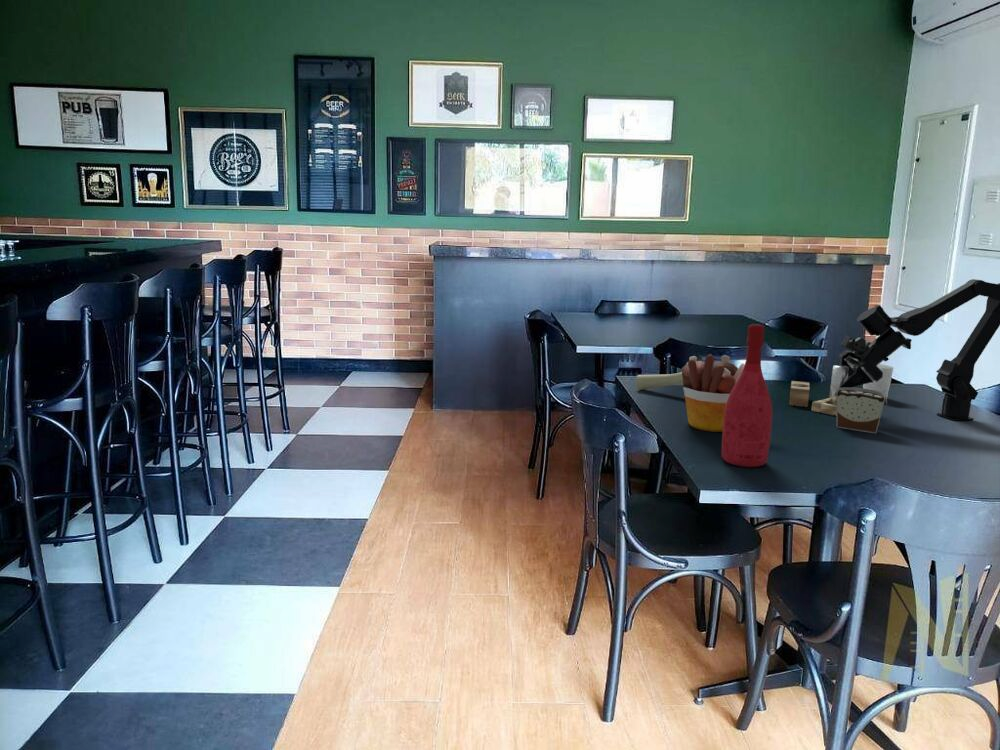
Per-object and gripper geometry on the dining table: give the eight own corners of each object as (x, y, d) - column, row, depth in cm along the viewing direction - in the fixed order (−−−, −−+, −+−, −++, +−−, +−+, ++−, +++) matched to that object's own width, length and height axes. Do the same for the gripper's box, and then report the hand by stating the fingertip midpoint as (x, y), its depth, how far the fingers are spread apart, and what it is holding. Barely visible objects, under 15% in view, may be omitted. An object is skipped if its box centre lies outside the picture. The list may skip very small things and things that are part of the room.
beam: (789, 396, 225) (791, 380, 224) (807, 398, 223) (809, 382, 222) (789, 405, 214) (790, 387, 213) (807, 407, 212) (809, 389, 211)
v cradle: (833, 406, 214) (834, 398, 213) (850, 418, 200) (851, 409, 200) (804, 404, 214) (805, 396, 214) (819, 416, 201) (820, 407, 200)
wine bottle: (757, 455, 164) (770, 321, 158) (775, 469, 154) (789, 327, 148) (714, 454, 164) (725, 320, 158) (729, 468, 154) (742, 326, 148)
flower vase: (648, 412, 232) (759, 405, 211) (630, 407, 223) (745, 399, 202) (648, 375, 234) (758, 365, 213) (630, 368, 225) (743, 357, 204)
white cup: (882, 395, 231) (886, 364, 229) (893, 401, 223) (897, 368, 221) (856, 394, 231) (860, 363, 229) (866, 399, 224) (870, 367, 222)
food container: (886, 429, 189) (891, 391, 187) (882, 434, 184) (888, 395, 182) (834, 421, 196) (839, 385, 194) (830, 426, 191) (834, 388, 189)
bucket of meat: (689, 414, 200) (695, 342, 196) (752, 423, 191) (759, 348, 188) (666, 430, 183) (672, 351, 179) (734, 441, 174) (742, 359, 171)
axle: (846, 413, 206) (852, 367, 203) (835, 414, 204) (841, 368, 202) (834, 409, 210) (840, 365, 207) (824, 410, 208) (829, 365, 205)
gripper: (850, 322, 211) (806, 358, 214) (875, 331, 193) (827, 370, 196) (875, 350, 212) (831, 386, 215) (903, 361, 193) (854, 400, 197)
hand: (835, 385), depth 206 cm, fingers open, 9 cm apart
